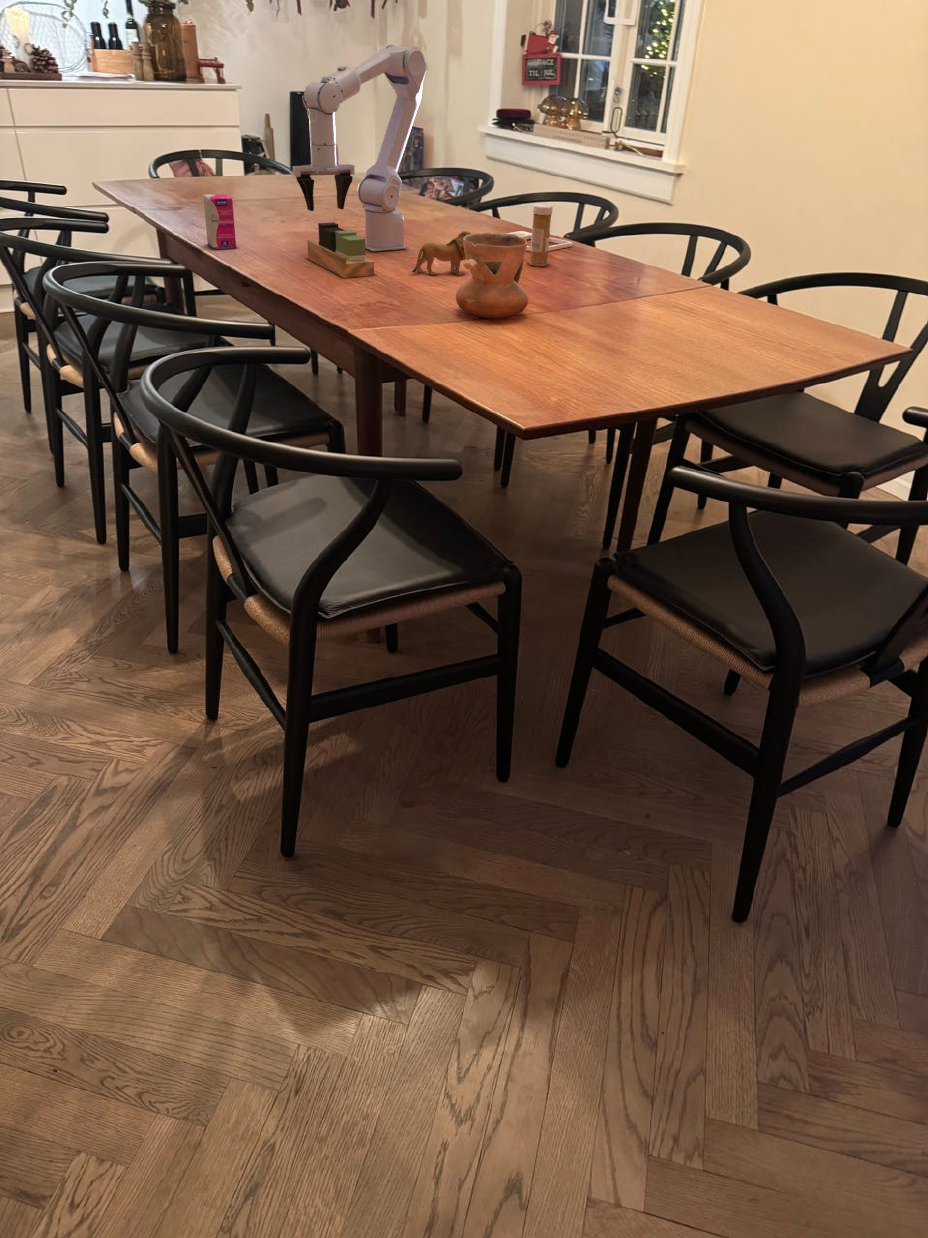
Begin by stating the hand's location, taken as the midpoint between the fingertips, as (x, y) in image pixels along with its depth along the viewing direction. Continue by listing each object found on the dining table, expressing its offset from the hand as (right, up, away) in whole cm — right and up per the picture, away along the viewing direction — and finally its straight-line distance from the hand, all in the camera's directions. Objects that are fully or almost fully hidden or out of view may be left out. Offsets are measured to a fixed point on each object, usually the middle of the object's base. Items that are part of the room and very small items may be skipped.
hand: (325, 209), depth 208 cm
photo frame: (+50, +4, +28) cm, 57 cm away
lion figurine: (+28, -16, -3) cm, 33 cm away
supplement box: (-27, -5, +9) cm, 29 cm away
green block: (+7, -14, -7) cm, 17 cm away
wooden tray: (+4, -14, -3) cm, 15 cm away
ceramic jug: (+38, -35, -30) cm, 60 cm away
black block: (+2, -9, 0) cm, 10 cm away
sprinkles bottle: (+51, -10, +8) cm, 52 cm away
